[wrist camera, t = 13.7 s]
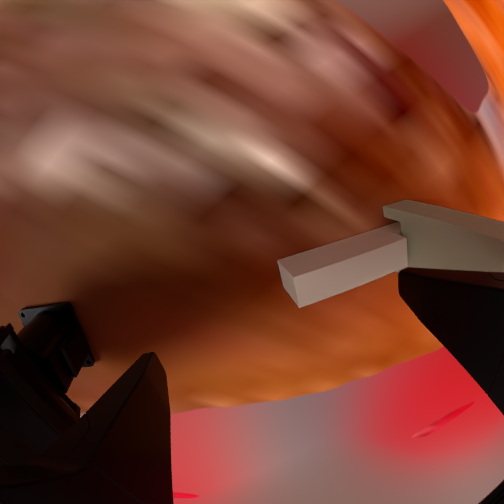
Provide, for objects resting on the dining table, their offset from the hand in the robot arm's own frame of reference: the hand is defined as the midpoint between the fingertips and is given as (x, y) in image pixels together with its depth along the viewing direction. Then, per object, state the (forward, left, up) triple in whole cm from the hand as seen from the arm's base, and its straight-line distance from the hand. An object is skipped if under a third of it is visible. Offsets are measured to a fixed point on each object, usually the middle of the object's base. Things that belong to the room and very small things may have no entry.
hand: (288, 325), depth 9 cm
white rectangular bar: (+12, -2, -13) cm, 18 cm away
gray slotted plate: (+15, -2, -13) cm, 20 cm away
